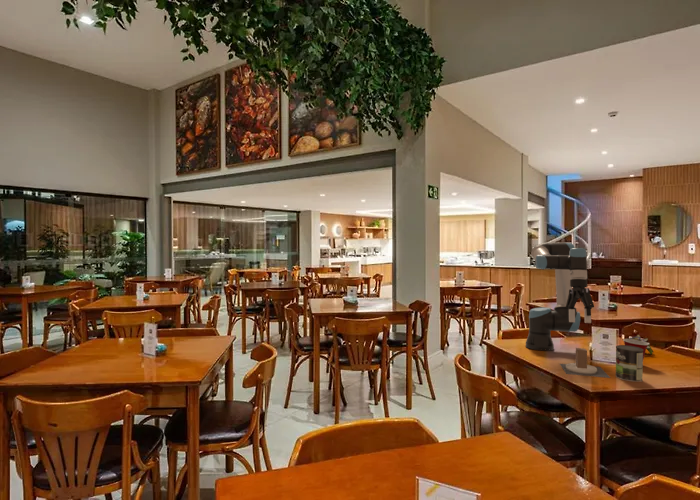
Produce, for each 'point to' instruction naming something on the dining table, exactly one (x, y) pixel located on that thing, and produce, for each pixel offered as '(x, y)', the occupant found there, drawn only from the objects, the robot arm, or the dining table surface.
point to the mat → (599, 374)
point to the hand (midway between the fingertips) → (579, 322)
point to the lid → (581, 363)
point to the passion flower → (643, 341)
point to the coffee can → (629, 363)
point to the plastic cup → (636, 344)
